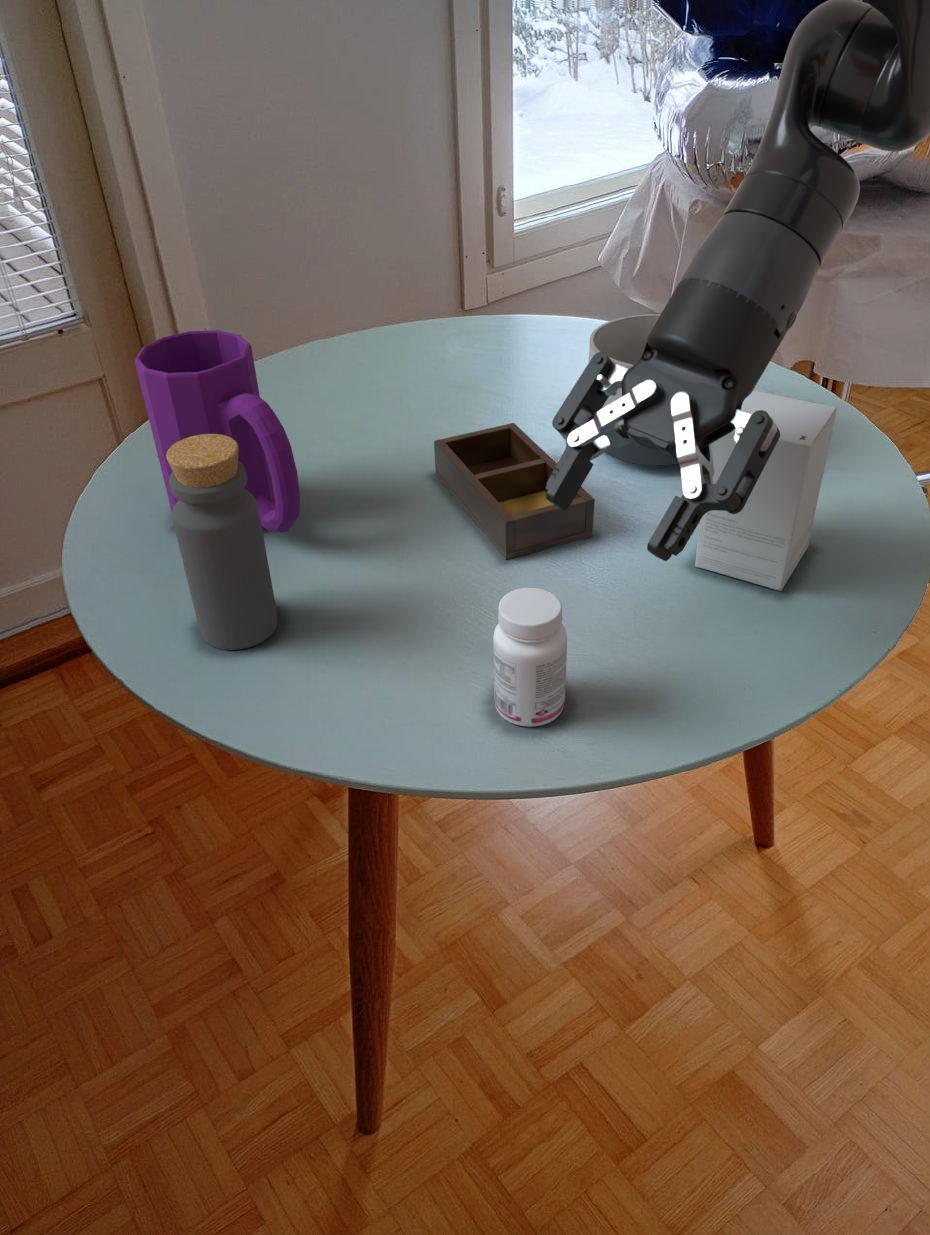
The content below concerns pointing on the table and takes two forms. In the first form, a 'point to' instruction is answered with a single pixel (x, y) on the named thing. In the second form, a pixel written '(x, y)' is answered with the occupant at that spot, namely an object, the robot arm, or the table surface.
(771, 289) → the robot arm
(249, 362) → the mug
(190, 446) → the bottle
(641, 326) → the planter
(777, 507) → the white packaging box
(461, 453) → the divided wooden box
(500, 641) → the pill bottle
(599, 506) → the table surface
